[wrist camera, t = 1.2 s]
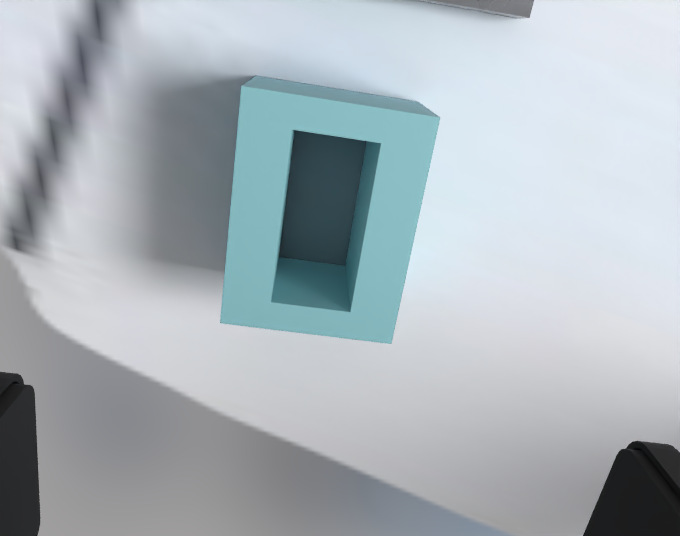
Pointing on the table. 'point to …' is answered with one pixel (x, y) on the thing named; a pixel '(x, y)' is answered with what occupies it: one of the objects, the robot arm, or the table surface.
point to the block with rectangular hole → (368, 222)
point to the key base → (492, 6)
